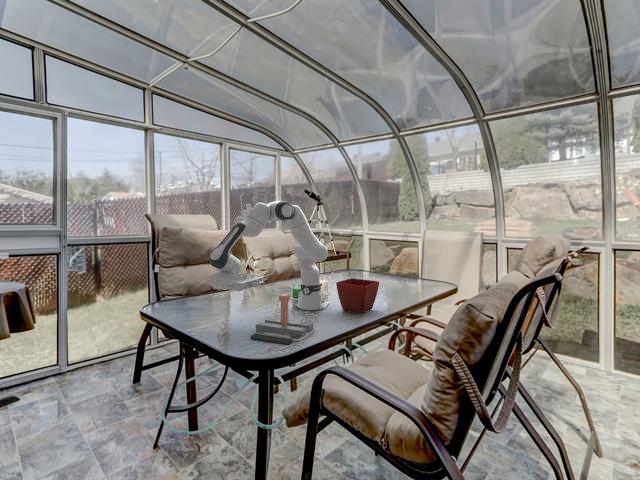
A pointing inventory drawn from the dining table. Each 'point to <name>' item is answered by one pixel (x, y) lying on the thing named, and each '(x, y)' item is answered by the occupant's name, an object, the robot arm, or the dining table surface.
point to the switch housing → (284, 329)
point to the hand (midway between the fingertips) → (262, 283)
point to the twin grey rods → (271, 339)
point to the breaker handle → (284, 308)
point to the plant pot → (357, 294)
